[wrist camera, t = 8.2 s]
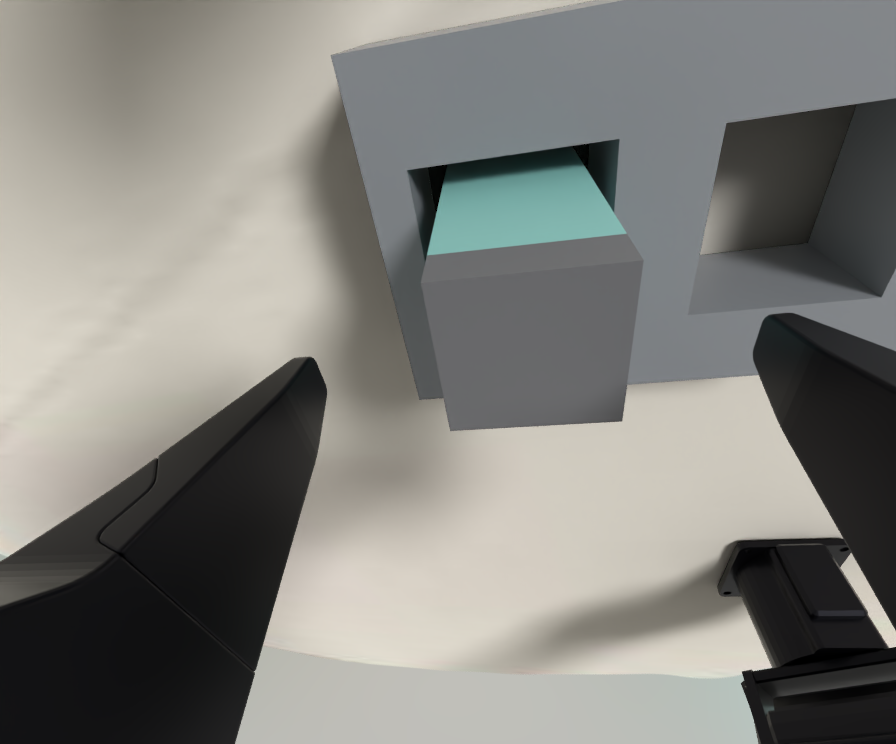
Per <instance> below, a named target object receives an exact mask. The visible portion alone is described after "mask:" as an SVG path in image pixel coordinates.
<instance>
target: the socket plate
mask: <svg viewBox="0 0 896 744" xmlns="http://www.w3.org/2000/svg"><path fill="white" fill-rule="evenodd" d="M331 58H332V62H333V66H334V69H335V73H336V77H337V81H338V85H339V89H340V93H341V97H342V101H343V104H344V108H345V112H346V116H347V120H348V124H349V128H350V132H351V135H352V139H353V143H354V147H355V151H356V155H357V159H358V163H359V166H360V170H361V174H362V178H363V182H364V186H365V190H366V194H367V197H368V201H369V205H370V209H371V213H372V217H373V221H374V225H375V229H376V232H377V236H378V240H379V244H380V248H381V252H382V256H383V260H384V263H385V267H386V271H387V275H388V279H389V283H390V287H391V291H392V294H393V298H394V302H395V306H396V310H397V314H398V318H399V322H400V325H401V329H402V333H403V337H404V341H405V345H406V349H407V353H408V357H409V360H410V364H411V368H412V372H413V376H414V380H415V384H416V388H417V391H418V395H419V399H420V400H422V399H436V398H444V397H443V392H442V387H441V382H440V377H439V372H438V367H437V362H436V357H435V352H434V347H433V342H432V337H431V332H430V327H429V322H428V317H427V312H426V307H425V302H424V297H423V292H422V287H421V280H422V275H423V271H424V266H425V262H426V257H427V253H428V248H429V244H430V240H431V235H432V231H433V226H434V222H435V217H436V214H435V208H434V202H433V196H432V190H431V184H430V178H429V172H428V167H432V166H439V165H445V164H452V163H459V162H466V161H473V160H479V159H486V158H493V157H500V156H507V155H513V154H520V153H527V152H534V151H540V150H547V149H554V148H561V147H568V146H574V145H581V144H588V143H589V167H588V172H589V174H590V175H591V177H592V179H593V180H594V182H595V183H596V185H597V187H598V188H599V190H600V191H601V193H602V195H603V196H604V198H605V199H606V201H607V203H608V204H609V206H610V207H611V209H612V211H613V212H614V214H615V215H616V217H617V219H618V220H619V222H620V223H621V225H622V226H623V228H624V230H625V231H626V233H627V234H628V236H629V238H630V239H631V241H632V242H633V244H634V246H635V247H636V249H637V250H638V252H639V254H640V255H641V257H642V258H643V260H644V262H643V270H642V277H641V284H640V292H639V299H638V307H637V314H636V322H635V329H634V336H633V344H632V351H631V359H630V366H629V374H628V381H627V385H628V384H642V383H656V382H669V381H683V380H697V379H711V378H724V377H738V376H752V375H759V374H758V372H757V369H756V367H755V364H754V361H753V348H754V345H755V342H756V339H757V336H758V333H759V330H760V327H761V324H762V321H763V319H764V318H765V317H766V316H768V315H770V314H779V313H795V314H798V315H800V316H803V317H806V318H809V319H811V320H814V321H817V322H819V323H822V324H825V325H827V326H830V327H833V328H835V329H838V330H841V331H843V332H846V333H849V334H851V335H854V336H857V337H859V338H862V339H865V340H868V341H870V342H873V343H876V344H878V345H881V346H884V347H886V348H889V349H892V350H894V351H896V0H595V1H590V2H584V3H579V4H574V5H569V6H563V7H558V8H553V9H548V10H542V11H537V12H532V13H527V14H521V15H516V16H511V17H506V18H500V19H495V20H490V21H485V22H479V23H474V24H469V25H464V26H458V27H453V28H448V29H443V30H437V31H432V32H427V33H422V34H417V35H411V36H406V37H401V38H396V39H390V40H385V41H380V42H375V43H369V44H365V45H362V46H358V47H355V48H352V49H349V50H346V51H343V52H340V53H337V54H334V55H331ZM853 104H857V106H856V108H855V111H854V114H853V117H852V120H851V123H850V125H849V128H848V131H847V134H846V137H845V140H844V142H843V145H842V148H841V151H840V154H839V156H838V159H837V162H836V165H835V168H834V171H833V173H832V176H831V179H830V182H829V185H828V188H827V190H826V193H825V196H824V199H823V202H822V204H821V207H820V210H819V213H818V216H817V219H816V221H815V224H814V227H813V230H812V233H811V235H810V238H809V241H808V243H806V244H797V245H788V246H779V247H770V248H760V249H751V250H742V251H733V252H724V253H715V254H706V255H700V251H701V246H702V241H703V236H704V231H705V226H706V221H707V216H708V211H709V207H710V202H711V197H712V192H713V187H714V182H715V177H716V172H717V167H718V162H719V157H720V152H721V147H722V143H723V138H724V133H725V128H726V123H730V122H737V121H744V120H751V119H758V118H764V117H771V116H778V115H785V114H792V113H798V112H805V111H812V110H819V109H825V108H832V107H839V106H846V105H853Z"/></svg>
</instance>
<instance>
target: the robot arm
mask: <svg viewBox="0 0 896 744" xmlns="http://www.w3.org/2000/svg"><path fill="white" fill-rule="evenodd" d="M753 361H754V364H755V367H756V369H757V372H758V374H759V377H760V379H761V381H762V384H763V386H764V389H765V391H766V394H767V396H768V399H769V401H770V403H771V406H772V408H773V411H774V413H775V416H776V418H777V420H778V422H779V424H780V427H781V429H782V430H783V432H784V434H785V436H786V438H787V440H788V442H789V443H790V445H791V447H792V449H793V450H794V452H795V454H796V456H797V457H798V459H799V461H800V463H801V464H802V466H803V468H804V470H805V472H806V473H807V475H808V477H809V479H810V480H811V482H812V484H813V486H814V487H815V489H816V491H817V493H818V494H819V496H820V498H821V500H822V501H823V503H824V505H825V507H826V509H827V510H828V512H829V514H830V516H831V517H832V519H833V521H834V523H835V524H836V526H837V528H838V530H839V531H840V533H841V535H842V537H843V539H826V540H785V541H746V542H741V543H739V544H737V545H736V547H735V549H734V551H733V554H732V556H731V558H730V560H729V563H728V565H727V567H726V569H725V572H724V574H723V576H722V578H721V581H720V583H719V585H718V587H717V589H718V591H719V594H720V595H721V596H741V597H742V599H743V602H744V604H745V606H746V608H747V611H748V613H749V615H750V618H751V620H752V622H753V625H754V627H755V629H756V631H757V634H758V636H759V638H760V641H761V643H762V645H763V647H764V650H765V652H766V654H767V657H768V659H769V661H770V664H771V666H772V668H770V669H764V670H759V671H752V670H748V671H742V674H743V677H744V681H743V682H742V683H741V685H742V687H743V690H744V693H745V695H746V698H747V701H748V703H749V706H750V709H751V712H752V715H753V719H754V723H755V728H756V733H757V738H758V743H759V744H896V647H893V648H889V647H888V646H887V644H886V642H885V641H884V639H883V638H882V636H881V634H880V633H879V631H878V630H877V628H876V627H875V625H874V623H873V622H872V620H871V619H870V617H869V615H868V612H867V610H866V608H865V606H864V605H863V603H862V602H861V600H860V598H859V597H858V595H857V594H856V592H855V591H854V589H853V587H852V586H851V584H850V583H849V581H848V580H847V578H846V576H845V575H844V573H843V572H842V570H841V568H840V567H841V565H842V564H843V563H844V561H845V560H846V559H847V557H848V556H849V555H850V553H852V554H853V556H854V558H855V560H856V561H857V563H858V565H859V567H860V568H861V570H862V572H863V574H864V576H865V577H866V579H867V581H868V583H869V584H870V586H871V588H872V590H873V591H874V593H875V595H876V597H877V598H878V600H879V602H880V604H881V605H882V607H883V609H884V611H885V613H886V614H887V616H888V618H889V620H890V621H891V623H892V625H893V627H894V628H895V630H896V351H894V350H892V349H889V348H886V347H884V346H881V345H878V344H876V343H873V342H870V341H868V340H865V339H862V338H859V337H857V336H854V335H851V334H849V333H846V332H843V331H841V330H838V329H835V328H833V327H830V326H827V325H825V324H822V323H819V322H817V321H814V320H811V319H809V318H806V317H803V316H800V315H798V314H795V313H779V314H770V315H768V316H766V317H765V318H764V319H763V321H762V324H761V327H760V330H759V333H758V336H757V339H756V342H755V345H754V348H753ZM326 398H327V388H326V384H325V382H324V379H323V377H322V375H321V372H320V370H319V368H318V365H317V363H316V361H315V360H314V358H312V357H299V358H293V359H292V360H290V361H289V362H287V363H286V364H285V365H283V366H282V367H281V368H279V369H278V370H276V371H275V372H274V373H272V374H271V375H270V376H268V377H267V378H265V379H264V380H263V381H261V382H260V383H259V384H257V385H256V386H254V387H253V388H252V389H250V390H249V391H247V392H246V393H245V394H243V395H242V396H241V397H239V398H238V399H236V400H235V401H234V402H232V403H231V404H230V405H228V406H227V407H225V408H224V409H223V410H221V411H220V412H219V413H217V414H216V415H214V416H213V417H212V418H210V419H209V420H207V421H206V422H205V423H203V424H202V425H201V426H199V427H198V428H196V429H195V430H194V431H192V432H191V433H190V434H188V435H187V436H185V437H184V438H183V439H181V440H180V441H179V442H177V443H176V444H174V445H173V446H172V447H170V448H169V449H167V450H166V451H165V452H163V453H162V454H161V455H159V457H158V459H157V458H156V459H153V460H152V461H151V462H149V463H148V464H147V465H145V466H144V467H143V468H141V469H140V470H138V471H137V472H136V473H134V474H133V475H131V476H130V477H128V478H127V479H126V480H124V481H123V482H121V483H120V484H119V485H117V486H116V487H114V488H113V489H111V490H110V491H108V492H107V493H105V494H104V495H102V496H101V497H99V498H98V499H96V500H95V501H93V502H92V503H90V504H89V505H87V506H86V507H84V508H83V509H81V510H80V511H78V512H77V513H75V514H73V515H72V516H70V517H69V518H67V519H66V520H64V521H63V522H61V523H60V524H58V525H56V526H55V527H53V528H52V529H50V530H49V531H47V532H46V533H44V534H43V535H41V536H39V537H38V538H36V539H35V540H33V541H32V542H30V543H29V544H27V545H26V546H24V547H22V548H21V549H19V550H18V551H16V552H15V553H13V554H12V555H10V556H9V557H7V558H6V559H4V560H2V561H0V744H235V741H236V738H237V734H238V731H239V727H240V724H241V720H242V717H243V713H244V710H245V707H246V703H247V699H248V696H249V693H250V689H251V685H252V682H253V679H254V675H255V672H254V671H255V670H256V667H257V664H258V660H259V657H260V653H261V650H262V646H263V643H264V639H265V636H266V632H267V629H268V625H269V622H270V618H271V615H272V611H273V608H274V604H275V601H276V597H277V594H278V590H279V587H280V583H281V580H282V576H283V573H284V569H285V566H286V562H287V559H288V555H289V552H290V548H291V545H292V542H293V538H294V535H295V531H296V528H297V524H298V521H299V517H300V514H301V510H302V507H303V503H304V500H305V496H306V493H307V489H308V486H309V482H310V479H311V475H312V472H313V468H314V465H315V461H316V457H317V453H318V448H319V442H320V436H321V430H322V423H323V417H324V411H325V405H326Z"/></svg>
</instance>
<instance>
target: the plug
mask: <svg viewBox="0 0 896 744" xmlns="http://www.w3.org/2000/svg"><path fill="white" fill-rule="evenodd" d="M643 262H644V260H643V258H642V257H641V255H640V254H639V252H638V250H637V249H636V247H635V246H634V244H633V242H632V241H631V239H630V238H629V236H628V234H627V233H626V231H625V230H624V228H623V226H622V225H621V223H620V222H619V220H618V219H617V217H616V215H615V214H614V212H613V211H612V209H611V207H610V206H609V204H608V203H607V201H606V199H605V198H604V196H603V195H602V193H601V191H600V190H599V188H598V187H597V185H596V183H595V182H594V180H593V179H592V177H591V175H590V174H589V172H588V171H587V169H586V168H585V166H584V164H583V163H582V161H581V160H580V158H579V156H578V155H577V153H576V152H575V150H574V148H573V147H572V146H568V147H561V148H554V149H547V150H540V151H534V152H527V153H520V154H513V155H507V156H500V157H493V158H486V159H479V160H473V161H466V162H459V163H452V164H447V169H446V173H445V178H444V182H443V186H442V191H441V195H440V200H439V204H438V209H437V213H436V217H435V222H434V226H433V231H432V235H431V240H430V244H429V248H428V253H427V257H426V262H425V266H424V271H423V275H422V280H421V287H422V292H423V297H424V302H425V307H426V312H427V317H428V322H429V327H430V332H431V337H432V342H433V347H434V352H435V357H436V362H437V367H438V372H439V377H440V382H441V387H442V392H443V397H444V402H445V407H446V412H447V417H448V422H449V427H450V431H457V430H475V429H493V428H511V427H529V426H547V425H565V424H583V423H601V422H619V421H622V418H623V411H624V403H625V396H626V389H627V381H628V374H629V366H630V359H631V351H632V344H633V336H634V329H635V322H636V314H637V307H638V299H639V292H640V284H641V277H642V270H643Z"/></svg>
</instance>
